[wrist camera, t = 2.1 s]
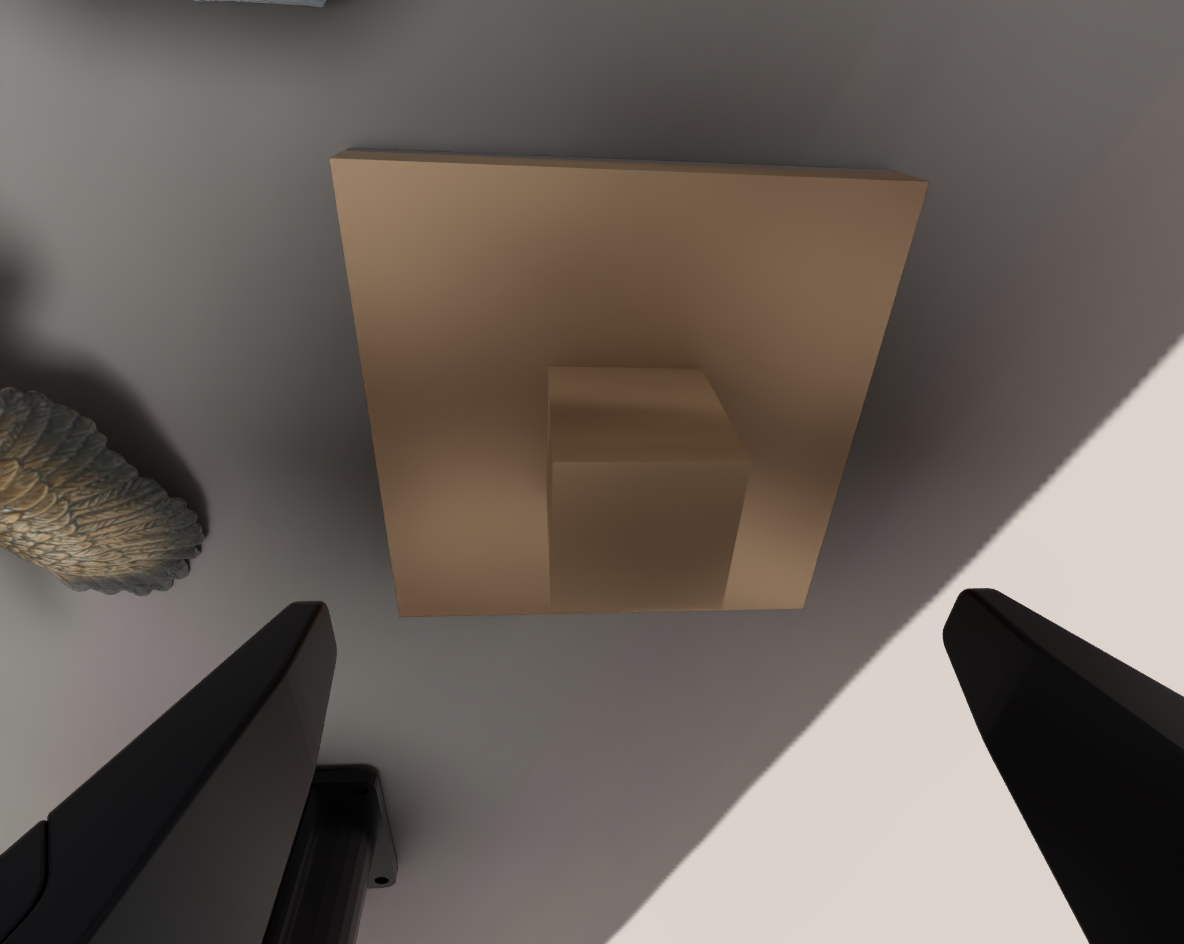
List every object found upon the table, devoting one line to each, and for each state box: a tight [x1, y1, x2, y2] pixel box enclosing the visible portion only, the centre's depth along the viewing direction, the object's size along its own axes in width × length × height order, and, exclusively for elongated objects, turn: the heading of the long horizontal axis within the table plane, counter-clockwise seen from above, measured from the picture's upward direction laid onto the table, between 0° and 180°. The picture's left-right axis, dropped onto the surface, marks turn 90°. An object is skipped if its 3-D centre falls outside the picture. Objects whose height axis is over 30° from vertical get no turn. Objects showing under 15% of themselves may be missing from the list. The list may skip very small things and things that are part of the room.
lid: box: [329, 151, 929, 617], centre depth 12 cm, size 10×10×4 cm
